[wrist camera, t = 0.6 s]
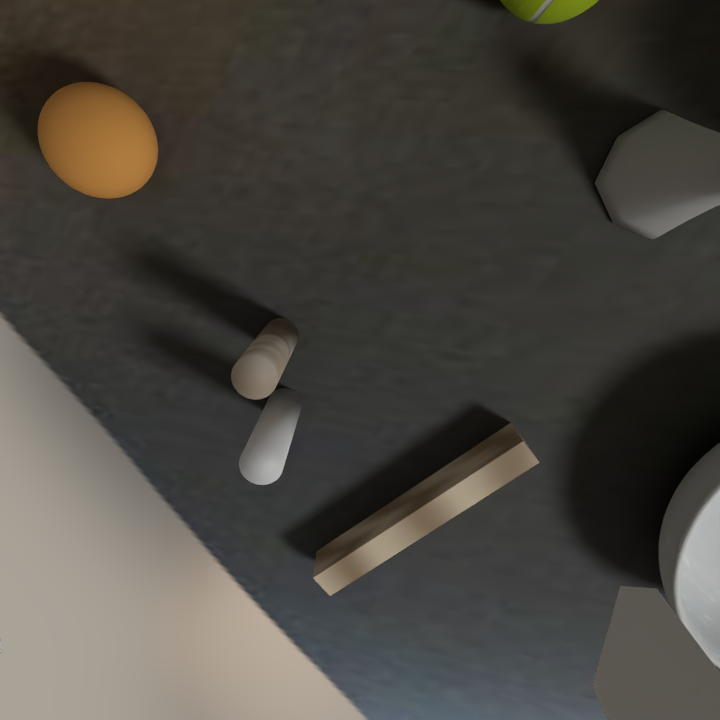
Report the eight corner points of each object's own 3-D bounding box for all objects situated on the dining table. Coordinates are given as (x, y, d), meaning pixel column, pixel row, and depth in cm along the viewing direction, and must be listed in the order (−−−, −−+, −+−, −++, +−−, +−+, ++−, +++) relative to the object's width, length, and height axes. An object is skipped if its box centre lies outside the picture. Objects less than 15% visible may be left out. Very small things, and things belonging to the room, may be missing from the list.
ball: (63, 102, 31) (-6, 78, 25) (159, 87, 31) (113, 60, 25) (91, 205, 33) (33, 205, 27) (183, 192, 32) (144, 189, 27)
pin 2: (265, 390, 36) (235, 448, 28) (298, 386, 36) (278, 442, 27) (271, 421, 37) (243, 487, 28) (304, 417, 37) (286, 482, 28)
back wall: (332, 568, 41) (330, 596, 38) (316, 551, 40) (312, 578, 37) (525, 442, 37) (539, 462, 34) (510, 422, 37) (523, 441, 34)
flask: (571, 185, 32) (660, 176, 23) (660, 86, 31) (796, 32, 21) (648, 259, 34) (763, 281, 24) (737, 168, 32) (898, 153, 22)
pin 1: (260, 320, 35) (226, 358, 26) (295, 316, 35) (273, 352, 26) (266, 354, 35) (236, 402, 27) (301, 349, 35) (281, 396, 27)
